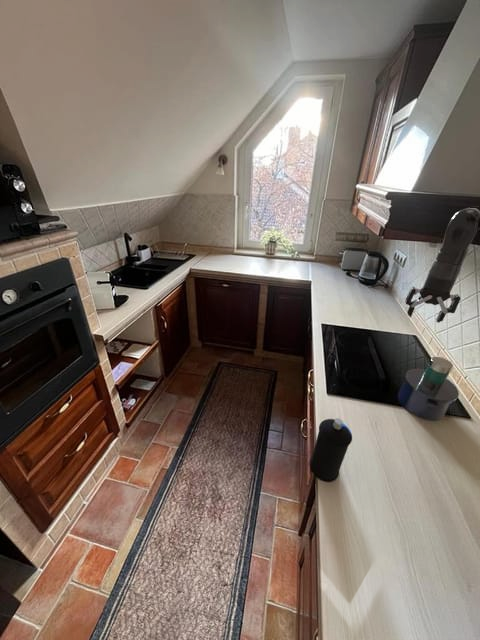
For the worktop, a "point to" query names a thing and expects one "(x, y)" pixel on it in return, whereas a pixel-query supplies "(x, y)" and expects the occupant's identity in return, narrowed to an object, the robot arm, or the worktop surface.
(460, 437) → the worktop surface
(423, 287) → the robot arm
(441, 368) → the tin can
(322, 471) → the aerosol can
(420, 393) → the pot
